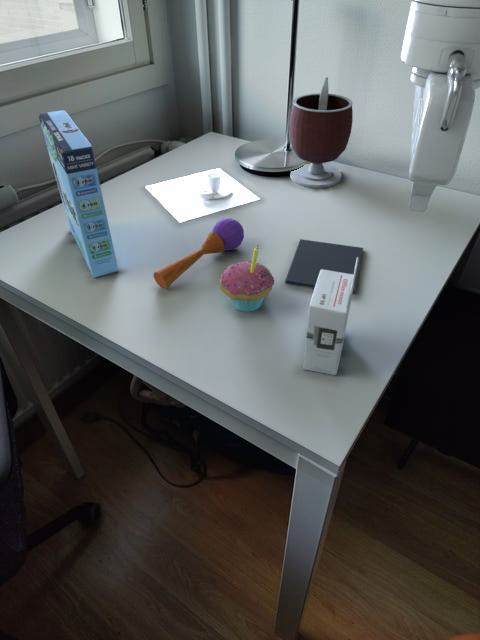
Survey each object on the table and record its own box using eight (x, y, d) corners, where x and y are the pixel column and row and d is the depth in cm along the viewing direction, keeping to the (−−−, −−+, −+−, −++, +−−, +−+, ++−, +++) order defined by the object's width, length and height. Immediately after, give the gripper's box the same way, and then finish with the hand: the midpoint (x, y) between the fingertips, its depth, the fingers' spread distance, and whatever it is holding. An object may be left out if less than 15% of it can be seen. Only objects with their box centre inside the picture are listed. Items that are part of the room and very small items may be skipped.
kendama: (144, 261, 79) (224, 210, 89) (155, 290, 82) (231, 237, 92) (165, 269, 75) (246, 215, 85) (176, 299, 79) (253, 243, 88)
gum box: (70, 229, 95) (35, 113, 80) (94, 223, 97) (65, 108, 82) (93, 279, 82) (57, 151, 67) (121, 271, 84) (92, 145, 69)
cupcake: (281, 297, 77) (285, 235, 69) (255, 326, 72) (256, 263, 64) (238, 281, 81) (237, 220, 73) (210, 308, 75) (205, 245, 67)
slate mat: (362, 250, 88) (363, 247, 87) (355, 294, 78) (355, 291, 77) (300, 241, 90) (300, 239, 90) (285, 283, 80) (285, 280, 80)
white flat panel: (203, 204, 102) (202, 187, 99) (188, 191, 107) (186, 174, 105) (238, 195, 105) (237, 178, 103) (221, 182, 111) (220, 165, 108)
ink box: (312, 330, 71) (322, 248, 61) (344, 336, 70) (359, 254, 60) (301, 369, 65) (310, 286, 55) (336, 377, 64) (352, 293, 54)
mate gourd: (343, 191, 106) (356, 98, 93) (283, 186, 108) (287, 95, 95) (345, 164, 117) (357, 78, 104) (291, 160, 120) (296, 75, 106)
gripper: (509, 72, 32) (451, 242, 42) (484, 21, 47) (445, 155, 56) (416, 67, 34) (380, 231, 43) (420, 19, 48) (392, 149, 58)
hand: (417, 187), depth 50 cm, fingers open, 8 cm apart
